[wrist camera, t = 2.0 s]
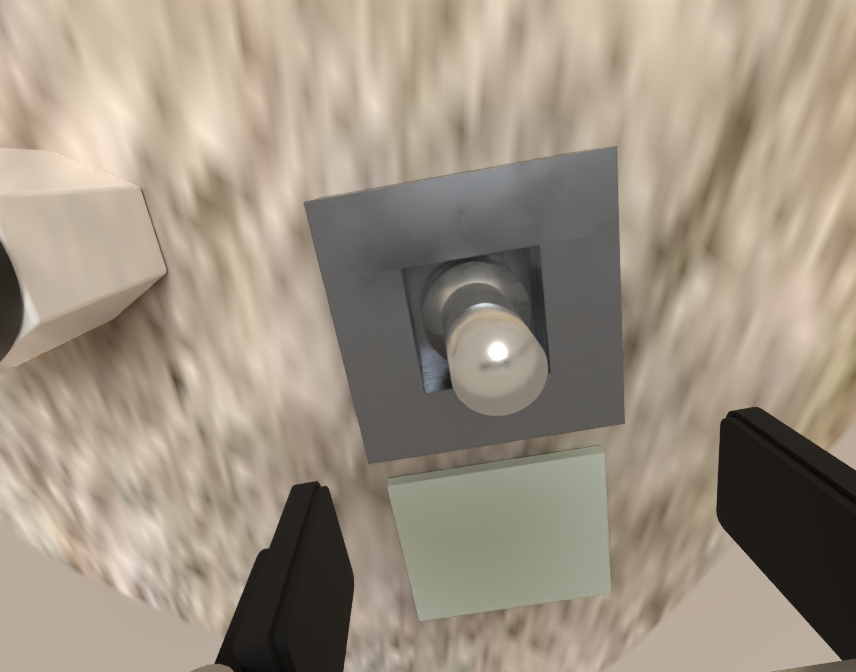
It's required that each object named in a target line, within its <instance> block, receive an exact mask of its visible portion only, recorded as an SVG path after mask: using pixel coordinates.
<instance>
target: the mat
mask: <svg viewBox="0 0 856 672" xmlns="http://www.w3.org/2000/svg"><path fill="white" fill-rule="evenodd" d="M387 489H388V493H389V497H390V502H391V506H392V510H393V514H394V518H395V522H396V527H397V531H398V535H399V539H400V543H401V548H402V552H403V556H404V560H405V564H406V568H407V573H408V577H409V581H410V585H411V589H412V593H413V598H414V602H415V606H416V610H417V614H418V619H419V621H425V620H432V619H439V618H446V617H453V616H460V615H467V614H474V613H481V612H487V611H494V610H501V609H508V608H515V607H522V606H529V605H536V604H542V603H549V602H556V601H563V600H570V599H577V598H584V597H591V596H597V595H604V594H611V577H610V556H609V534H608V512H607V491H606V469H605V452H604V451H603V449H602V448H601V446H600V445H599V446H593V447H586V448H580V449H574V450H567V451H561V452H554V453H548V454H542V455H535V456H529V457H523V458H516V459H510V460H503V461H497V462H491V463H484V464H478V465H471V466H465V467H459V468H452V469H446V470H439V471H433V472H427V473H420V474H414V475H408V476H401V477H395V478H388V480H387Z"/></svg>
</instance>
